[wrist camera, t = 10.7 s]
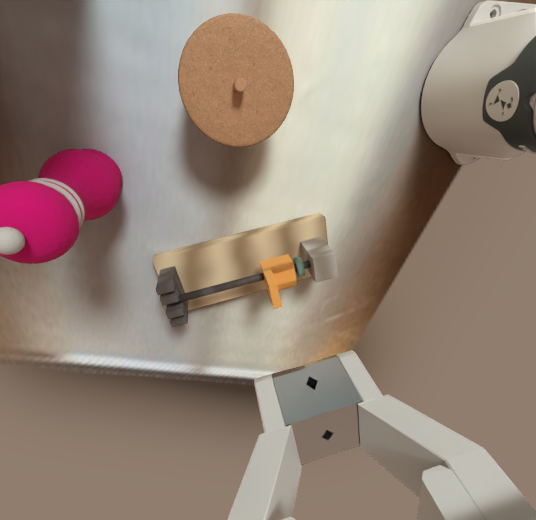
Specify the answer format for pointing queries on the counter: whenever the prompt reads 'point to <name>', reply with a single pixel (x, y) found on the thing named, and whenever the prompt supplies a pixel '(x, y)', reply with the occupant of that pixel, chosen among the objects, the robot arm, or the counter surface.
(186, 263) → the cord board
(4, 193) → the pepper mill
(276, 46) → the lidded jar
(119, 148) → the counter surface
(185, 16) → the counter surface
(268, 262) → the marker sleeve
